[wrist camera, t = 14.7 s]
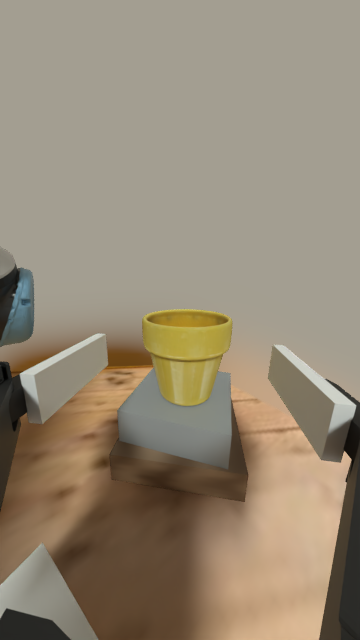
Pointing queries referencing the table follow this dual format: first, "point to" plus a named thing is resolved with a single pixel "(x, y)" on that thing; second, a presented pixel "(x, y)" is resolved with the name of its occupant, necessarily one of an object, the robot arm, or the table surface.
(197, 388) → the plant pot
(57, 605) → the matte white cube
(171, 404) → the gray square slab
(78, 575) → the table surface
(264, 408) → the table surface
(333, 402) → the robot arm
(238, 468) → the walnut base slab
